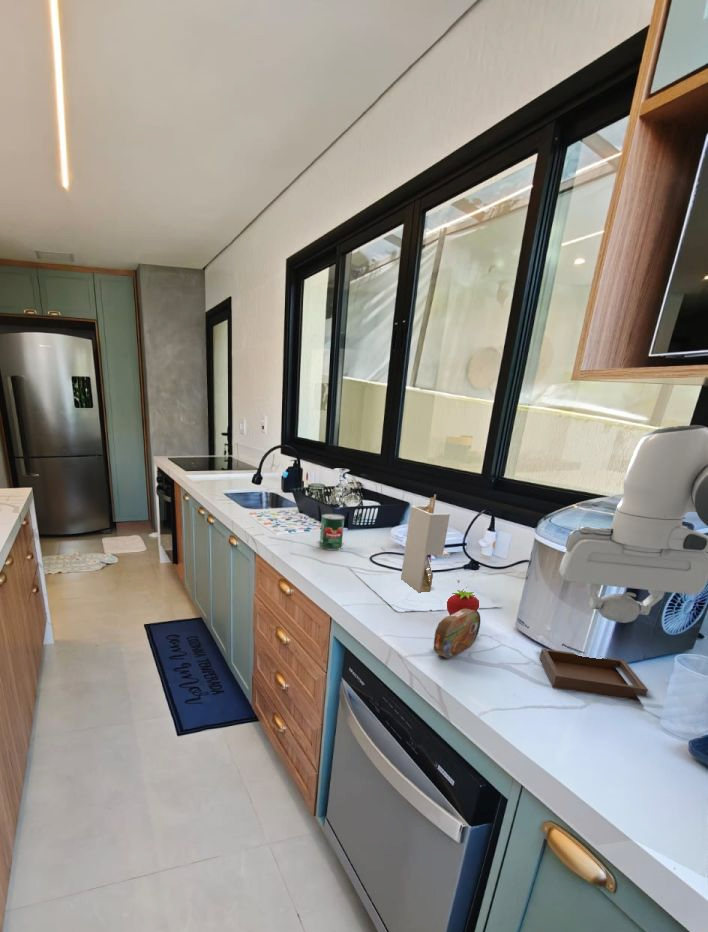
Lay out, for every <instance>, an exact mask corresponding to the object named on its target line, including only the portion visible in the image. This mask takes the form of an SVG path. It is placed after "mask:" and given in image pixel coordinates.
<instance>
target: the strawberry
mask: <svg viewBox="0 0 708 932" xmlns="http://www.w3.org/2000/svg"><path fill="white" fill-rule="evenodd" d="M466 588H467V587H466ZM463 590H464V589H463ZM463 590H462V591H460V590H457V591H458V592H459V593H452V594H455V595H453V596H451V597H450V598H449V599H448V601H447V610H446V611H447V612H448V616H450V615H452V614H454V613H456V612H458V611H460V610H462V609H470V610H476V611H478V610H479V609H478V608H479V600H478V599H477V598H476V597H474V596H475V595H473V594H472V593H474V592H466V591H464V592H463Z"/></svg>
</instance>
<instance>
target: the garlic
mask: <svg viewBox="0 0 708 932" xmlns="http://www.w3.org/2000/svg"><path fill="white" fill-rule="evenodd" d="M636 597H637V594H636V593H634V592H631V591H627V592H624V593H612V594H610V593H609V594H607V595H604V596H602V597H601V598H602V600H603V601H604V602H603V605H601V606H602V609H601V610H600V609H597V611H598V612H599V614H600V615H601V617H603V618H604V619H607V620H609V621H612V622H616V623H623V624H627V623H631V622H634V621H635V620H636V619H637V618H638V616H640V614H639V612H640V608H639V605H638V603H637V600H635V599H634V598H636Z"/></svg>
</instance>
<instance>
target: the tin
mask: <svg viewBox="0 0 708 932" xmlns="http://www.w3.org/2000/svg"><path fill="white" fill-rule="evenodd" d="M480 628H481V614H480V612H479V611H478V610H477V611H476V610H470V609H462V610H460V611H458V612H456V613H454V614H452V615H447V616H445V617H444V618H442V619H441V620H440V622H439V623H438V625H437V627H436V629H435V632H434V639H433V651H434V653H435V654H436V655H438V656H440V657H443V658H446V659H452V658H454V657H456V656H457V655H459V654H461V653H463V652H464V651H465V650H467V649H469V648H470V647H472V645H474V643H475V641H476V639H477V637H478V635H479V631H480Z"/></svg>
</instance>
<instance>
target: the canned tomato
mask: <svg viewBox="0 0 708 932" xmlns="http://www.w3.org/2000/svg"><path fill="white" fill-rule="evenodd" d="M320 521H321V522H320V533H319V534H320V535H319V545H318V546H319V548H321V547H322V548H321V549H323V548H326V549H325V550H328V549H338V550H340V549H339V548H341V547H342V548H343V538H344V537H343V536H344V525H345V516H344V515H343V514H337V513H325V514H321V520H320ZM342 548H341V549H342Z"/></svg>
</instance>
